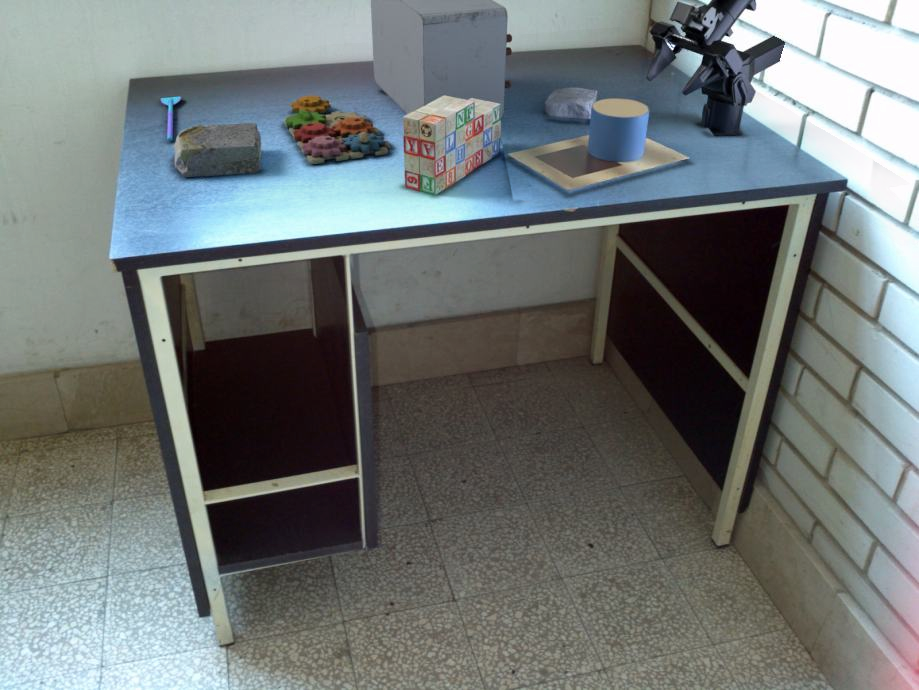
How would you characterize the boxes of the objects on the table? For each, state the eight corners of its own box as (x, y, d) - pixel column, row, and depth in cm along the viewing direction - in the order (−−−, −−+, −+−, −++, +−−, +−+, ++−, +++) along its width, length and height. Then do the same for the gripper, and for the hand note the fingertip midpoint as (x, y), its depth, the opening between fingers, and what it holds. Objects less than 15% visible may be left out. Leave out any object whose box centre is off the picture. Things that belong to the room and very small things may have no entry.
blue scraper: (162, 98, 183) (161, 93, 182) (182, 97, 184) (181, 92, 183) (151, 143, 163) (149, 136, 162) (174, 141, 163) (172, 135, 163)
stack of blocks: (471, 147, 163) (472, 80, 156) (500, 154, 160) (503, 86, 153) (404, 187, 148) (402, 115, 141) (435, 195, 145) (435, 122, 138)
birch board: (622, 131, 170) (623, 126, 170) (689, 163, 157) (689, 157, 157) (506, 159, 158) (506, 153, 158) (568, 195, 146) (568, 189, 145)
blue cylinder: (637, 141, 163) (643, 98, 159) (648, 162, 155) (655, 117, 151) (583, 141, 163) (587, 98, 159) (592, 162, 155) (596, 117, 150)
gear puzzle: (272, 109, 178) (270, 89, 176) (349, 100, 183) (348, 81, 181) (308, 166, 154) (306, 144, 152) (396, 154, 159) (395, 133, 157)
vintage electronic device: (512, 126, 172) (518, -9, 158) (424, 138, 166) (422, -2, 152) (453, 78, 196) (454, -43, 182) (374, 87, 191) (369, -37, 177)
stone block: (544, 129, 175) (595, 123, 173) (541, 105, 173) (592, 98, 170) (551, 111, 185) (599, 105, 183) (548, 88, 183) (597, 82, 180)
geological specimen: (262, 144, 149) (169, 147, 146) (264, 177, 153) (174, 181, 149) (258, 120, 158) (170, 122, 154) (260, 153, 161) (174, 155, 158)
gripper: (664, -27, 157) (610, 45, 159) (743, -5, 144) (683, 73, 146) (690, 14, 165) (638, 82, 167) (767, 37, 152) (710, 111, 154)
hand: (665, 86), depth 158 cm, fingers open, 9 cm apart
